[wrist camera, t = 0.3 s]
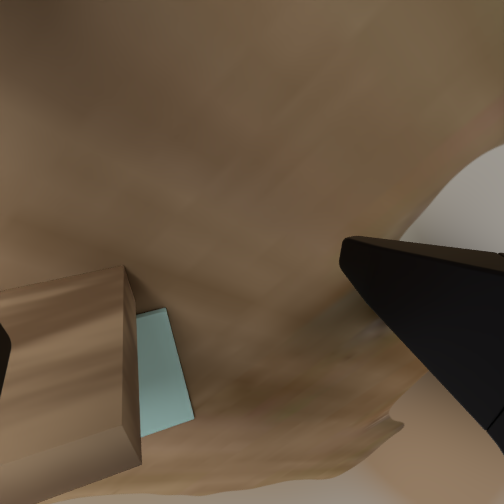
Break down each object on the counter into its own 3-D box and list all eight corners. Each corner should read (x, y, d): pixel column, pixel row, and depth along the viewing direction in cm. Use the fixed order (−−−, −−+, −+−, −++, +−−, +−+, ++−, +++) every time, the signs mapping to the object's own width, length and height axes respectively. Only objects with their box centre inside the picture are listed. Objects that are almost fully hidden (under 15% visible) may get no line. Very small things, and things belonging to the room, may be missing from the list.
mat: (-72, 366, 21) (-75, 371, 21) (165, 307, 25) (166, 310, 25) (29, 471, 30) (28, 476, 30) (193, 415, 34) (194, 418, 34)
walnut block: (-80, 307, 19) (-286, 560, 10) (123, 265, 22) (121, 424, 13) (-48, 345, 21) (-193, 587, 12) (135, 301, 24) (141, 464, 14)
